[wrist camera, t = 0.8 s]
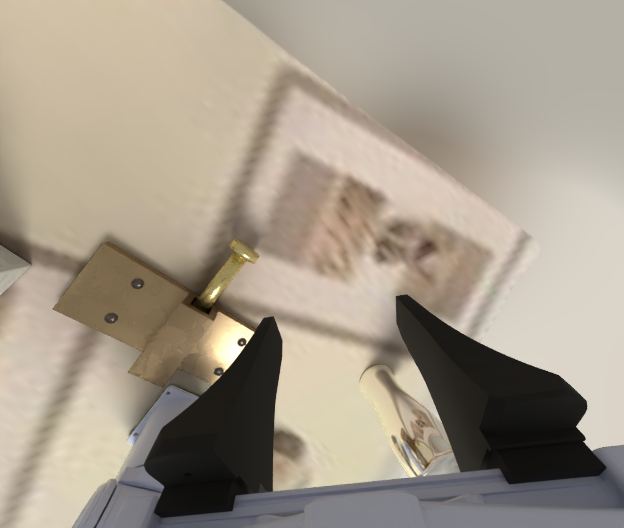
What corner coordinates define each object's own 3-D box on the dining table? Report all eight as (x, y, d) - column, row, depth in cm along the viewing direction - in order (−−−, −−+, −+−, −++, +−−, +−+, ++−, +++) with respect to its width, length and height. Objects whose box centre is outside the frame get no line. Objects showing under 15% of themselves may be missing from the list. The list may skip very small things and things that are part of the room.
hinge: (239, 395, 33) (237, 419, 29) (56, 309, 25) (21, 326, 21) (280, 344, 33) (283, 360, 29) (108, 242, 25) (82, 246, 21)
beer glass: (352, 397, 38) (410, 508, 24) (362, 360, 37) (430, 452, 22) (387, 398, 40) (461, 501, 25) (398, 363, 39) (482, 449, 24)
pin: (210, 317, 29) (204, 330, 26) (184, 302, 28) (174, 314, 25) (259, 254, 29) (260, 259, 26) (235, 236, 28) (232, 239, 25)
